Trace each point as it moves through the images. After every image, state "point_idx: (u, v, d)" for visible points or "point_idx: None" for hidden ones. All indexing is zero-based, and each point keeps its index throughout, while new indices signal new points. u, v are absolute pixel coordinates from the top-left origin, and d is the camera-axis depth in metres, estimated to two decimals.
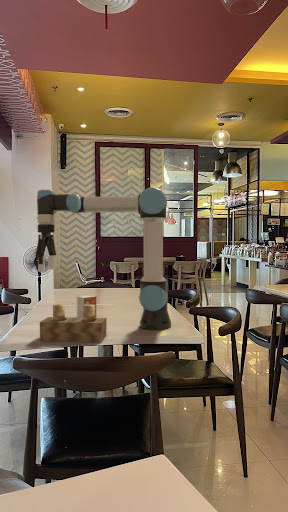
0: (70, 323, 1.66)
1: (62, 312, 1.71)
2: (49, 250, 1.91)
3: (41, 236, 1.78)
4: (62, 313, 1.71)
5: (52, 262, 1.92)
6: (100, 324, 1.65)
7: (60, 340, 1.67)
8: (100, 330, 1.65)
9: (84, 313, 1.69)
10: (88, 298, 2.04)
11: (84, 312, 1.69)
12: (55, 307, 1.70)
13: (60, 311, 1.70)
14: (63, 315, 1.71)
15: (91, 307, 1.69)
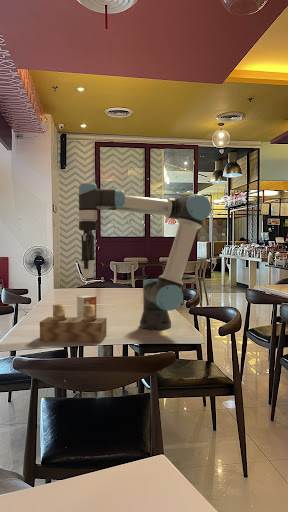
0: (70, 323, 1.66)
1: (62, 312, 1.71)
2: None
3: (84, 238, 1.63)
4: (62, 313, 1.71)
5: (91, 267, 1.73)
6: (100, 324, 1.65)
7: (60, 340, 1.67)
8: (100, 330, 1.65)
9: (84, 313, 1.69)
10: (88, 298, 2.04)
11: (84, 312, 1.69)
12: (55, 307, 1.70)
13: (60, 311, 1.70)
14: (63, 315, 1.71)
15: (91, 307, 1.69)
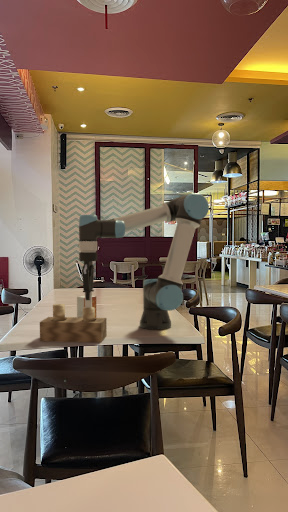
0: (70, 323, 1.66)
1: (62, 312, 1.71)
2: None
3: (85, 272, 1.64)
4: (62, 313, 1.71)
5: None
6: (100, 324, 1.65)
7: (60, 340, 1.67)
8: (100, 330, 1.65)
9: (84, 316, 1.69)
10: None
11: (84, 315, 1.69)
12: (55, 307, 1.70)
13: (60, 311, 1.70)
14: (63, 315, 1.71)
15: (91, 310, 1.69)
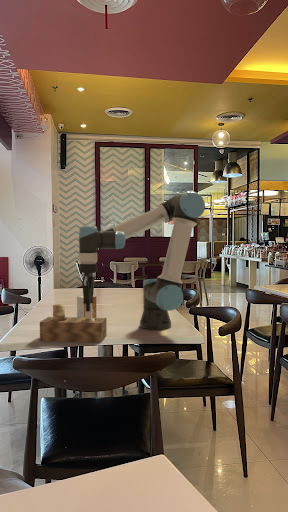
0: (70, 323, 1.66)
1: (62, 312, 1.71)
2: None
3: (85, 283, 1.64)
4: (62, 313, 1.71)
5: None
6: (100, 324, 1.65)
7: (60, 340, 1.67)
8: (100, 330, 1.65)
9: None
10: None
11: None
12: (55, 307, 1.70)
13: (60, 311, 1.70)
14: (63, 315, 1.71)
15: (91, 321, 1.69)
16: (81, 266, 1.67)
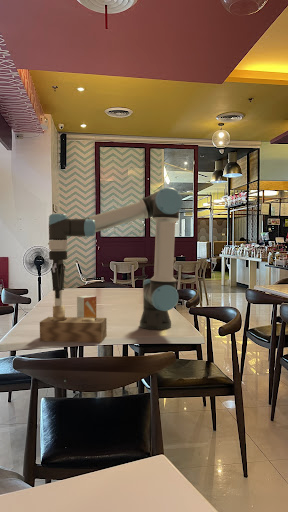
0: (70, 323, 1.66)
1: (62, 313, 1.71)
2: None
3: (54, 270, 1.65)
4: (62, 314, 1.71)
5: None
6: (100, 324, 1.65)
7: (60, 340, 1.67)
8: (100, 330, 1.65)
9: None
10: (88, 298, 2.04)
11: None
12: (55, 308, 1.70)
13: (60, 312, 1.70)
14: (63, 316, 1.71)
15: (91, 321, 1.69)
16: (50, 253, 1.68)
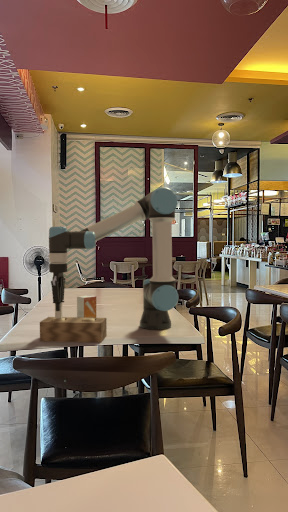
0: (70, 323, 1.66)
1: None
2: None
3: (54, 283, 1.66)
4: None
5: None
6: (100, 324, 1.65)
7: (60, 340, 1.67)
8: (100, 330, 1.65)
9: None
10: (88, 298, 2.04)
11: None
12: None
13: None
14: None
15: (91, 321, 1.69)
16: (50, 266, 1.69)
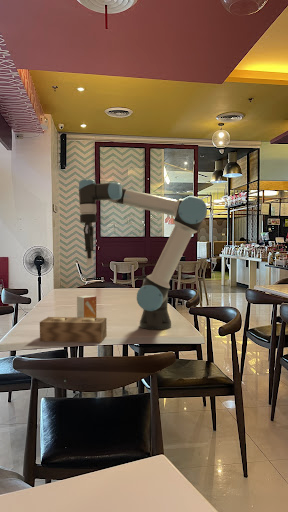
0: (70, 323, 1.66)
1: None
2: None
3: (87, 231, 1.79)
4: None
5: None
6: (100, 324, 1.65)
7: (60, 340, 1.67)
8: (100, 330, 1.65)
9: None
10: (88, 298, 2.04)
11: None
12: None
13: None
14: None
15: (91, 321, 1.69)
16: (82, 216, 1.82)
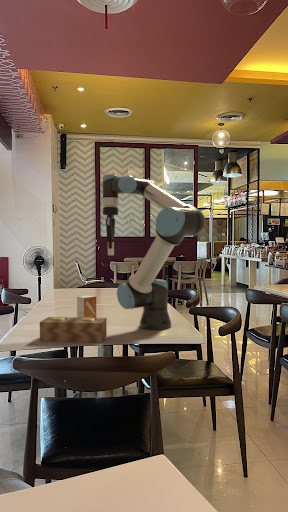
0: (70, 323, 1.66)
1: None
2: None
3: (108, 223, 1.91)
4: None
5: (112, 248, 1.98)
6: (100, 324, 1.65)
7: (60, 340, 1.67)
8: (100, 330, 1.65)
9: None
10: (88, 298, 2.04)
11: None
12: None
13: None
14: None
15: (91, 321, 1.69)
16: (104, 209, 1.94)
